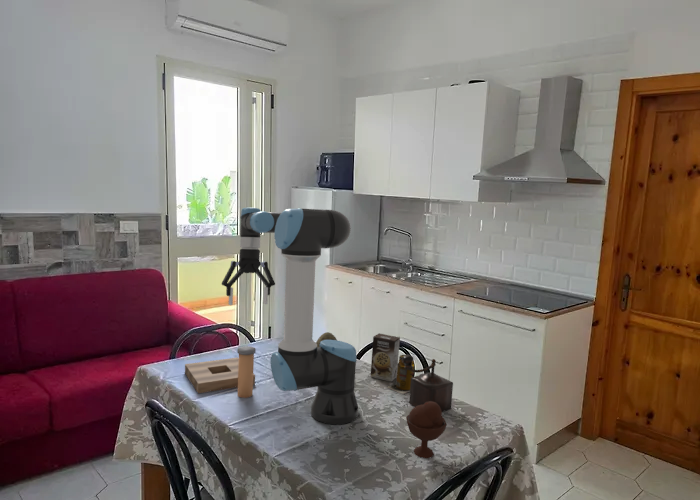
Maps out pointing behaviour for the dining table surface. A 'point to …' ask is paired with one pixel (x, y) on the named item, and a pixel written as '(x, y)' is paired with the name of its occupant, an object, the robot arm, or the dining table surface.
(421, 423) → the ice cream bowl
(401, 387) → the condiment
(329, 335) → the decorative egg
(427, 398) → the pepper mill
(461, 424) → the dining table surface
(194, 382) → the walnut block
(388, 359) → the cookie box
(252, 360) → the peg
